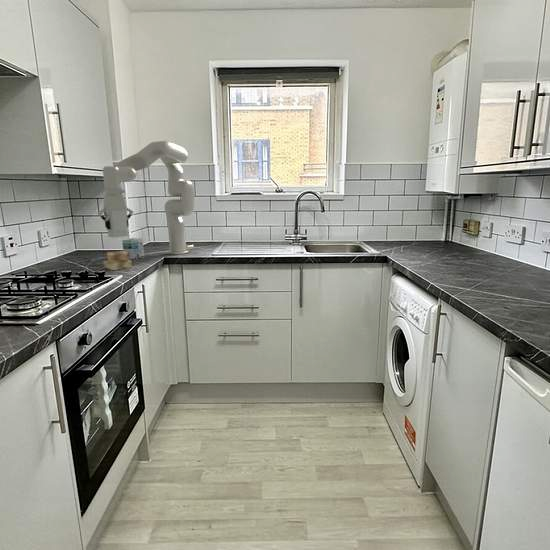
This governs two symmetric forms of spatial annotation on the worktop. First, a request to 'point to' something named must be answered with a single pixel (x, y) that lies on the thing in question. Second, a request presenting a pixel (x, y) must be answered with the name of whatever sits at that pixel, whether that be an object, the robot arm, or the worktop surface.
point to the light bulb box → (133, 247)
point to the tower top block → (117, 257)
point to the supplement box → (118, 224)
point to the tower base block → (117, 265)
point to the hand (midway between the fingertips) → (117, 228)
